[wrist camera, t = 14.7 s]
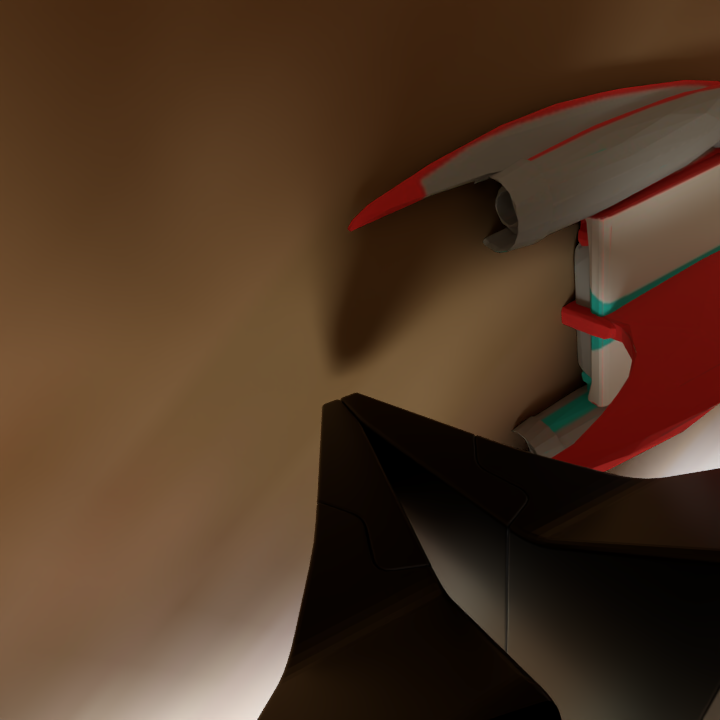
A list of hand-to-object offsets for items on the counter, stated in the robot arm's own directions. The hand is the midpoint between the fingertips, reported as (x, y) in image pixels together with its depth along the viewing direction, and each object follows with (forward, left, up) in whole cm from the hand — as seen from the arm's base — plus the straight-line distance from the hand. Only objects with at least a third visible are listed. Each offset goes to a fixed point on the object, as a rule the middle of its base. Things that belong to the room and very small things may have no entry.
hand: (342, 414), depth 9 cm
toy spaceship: (+1, -16, -2) cm, 16 cm away
